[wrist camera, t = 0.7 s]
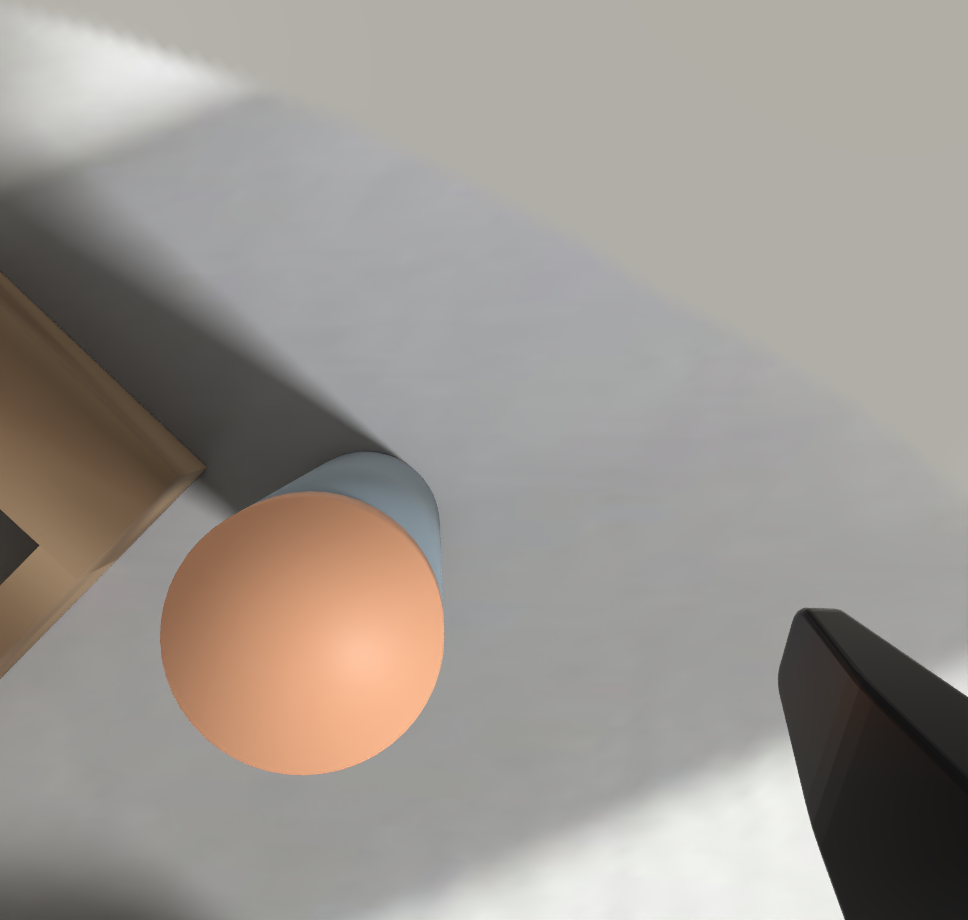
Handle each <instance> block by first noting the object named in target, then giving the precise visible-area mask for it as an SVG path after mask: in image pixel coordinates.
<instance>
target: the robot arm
mask: <svg viewBox="0 0 968 920" xmlns="http://www.w3.org/2000/svg"><path fill="white" fill-rule="evenodd" d="M778 687H779V694H780V698H781V702H782V707H783V711H784V715H785V719H786V723H787V727H788V732H789V736H790V740H791V744H792V748H793V753H794V757H795V761H796V765H797V769H798V774H799V778H800V782H801V786H802V790H803V795H804V799H805V803H806V807H807V811H808V814H809V818H810V822H811V825H812V829H813V832H814V835H815V838H816V841H817V844H818V847H819V850H820V852H821V855H822V858H823V861H824V864H825V866H826V869H827V872H828V875H829V877H830V880H831V883H832V886H833V888H834V891H835V894H836V897H837V900H838V902H839V905H840V908H841V911H842V913H843V916H844V919H845V920H968V697H967V696H966V695H964V694H963V693H961V692H960V691H958V690H957V689H955V688H954V687H952V686H951V685H950V684H948V683H947V682H945V681H944V680H942V679H941V678H939V677H938V676H936V675H935V674H933V673H932V672H931V671H929V670H928V669H926V668H925V667H923V666H922V665H920V664H919V663H917V662H916V661H915V660H913V659H912V658H910V657H909V656H907V655H906V654H904V653H903V652H901V651H900V650H899V649H897V648H896V647H894V646H893V645H891V644H890V643H888V642H887V641H885V640H884V639H882V638H881V637H880V636H878V635H877V634H875V633H874V632H872V631H871V630H869V629H868V628H866V627H865V626H864V625H862V624H861V623H859V622H858V621H856V620H855V619H853V618H852V617H850V616H849V615H847V614H846V613H844V612H843V611H841V610H838V609H828V608H803V609H801V610H799V611H798V612H797V613H796V615H795V616H794V619H793V621H792V625H791V628H790V632H789V635H788V639H787V642H786V646H785V649H784V653H783V657H782V660H781V664H780V667H779V673H778Z"/></svg>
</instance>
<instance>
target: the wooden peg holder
mask: <svg viewBox="0 0 968 920" xmlns="http://www.w3.org/2000/svg"><path fill="white" fill-rule="evenodd" d="M206 468H207V467H206V466H205V465H204V464H203V463H202V462H201V461H200V460H198V459H197V458H196V457H195V456H194V455H193V454H192V453H191V452H190V451H189V450H188V449H187V448H186V447H185V446H184V445H183V444H182V443H181V442H179V441H178V440H177V439H176V438H175V437H174V436H173V435H172V434H171V433H170V432H169V431H168V430H167V429H166V428H165V427H164V426H163V425H162V424H160V423H159V422H158V421H157V420H156V419H155V418H154V417H153V416H152V415H151V414H150V413H149V412H148V411H147V410H146V409H145V408H144V407H143V406H141V405H140V404H139V403H138V402H137V401H136V400H135V399H134V398H133V397H132V396H131V395H130V394H129V393H128V392H127V391H126V390H125V389H124V388H122V387H121V386H120V385H119V384H118V383H117V382H116V381H115V380H114V379H113V378H112V377H111V376H110V375H109V374H108V373H107V372H106V371H105V370H104V369H102V368H101V367H100V366H99V365H98V364H97V363H96V362H95V361H94V360H93V359H92V358H91V357H90V356H89V355H88V354H87V353H86V352H85V351H83V350H82V349H81V348H80V347H79V346H78V345H77V344H76V343H75V342H74V341H73V340H72V339H71V338H70V337H69V336H68V335H67V334H66V333H64V332H63V331H62V330H61V329H60V328H59V327H58V326H57V325H56V324H55V323H54V322H53V321H52V320H51V319H50V318H49V317H48V316H47V315H45V314H44V313H43V312H42V311H41V310H40V309H39V308H38V307H37V306H36V305H35V304H34V303H33V302H32V301H31V300H30V299H29V298H28V297H26V296H25V295H24V294H23V293H22V292H21V291H20V290H19V289H18V288H17V287H16V286H15V285H14V284H13V283H12V282H11V281H10V280H9V279H7V278H6V277H5V276H4V275H3V274H2V273H1V272H0V509H1V510H2V511H3V512H4V513H5V514H6V515H7V516H8V517H9V518H10V519H11V520H12V521H14V522H15V523H16V524H17V525H18V526H19V527H20V528H21V529H22V530H23V531H24V532H26V533H27V534H28V535H29V536H30V537H31V538H32V539H33V540H34V541H35V542H36V543H38V544H39V547H38V548H37V549H36V550H35V551H34V552H33V553H32V554H31V555H30V556H29V557H28V558H27V559H26V560H25V561H24V562H23V563H22V564H21V565H20V566H19V567H18V568H17V569H16V570H15V571H14V572H13V573H12V574H11V575H10V576H9V577H8V578H7V579H6V580H5V581H4V582H3V583H2V584H1V585H0V679H1V677H2V676H3V675H4V674H5V673H6V672H7V671H8V670H9V669H10V668H11V667H12V666H13V665H14V664H15V663H16V662H17V661H18V660H19V659H20V658H21V657H22V656H23V655H24V654H25V653H26V652H27V651H28V650H29V649H30V648H31V647H32V646H33V645H34V644H35V643H36V642H37V641H38V640H39V639H40V638H41V637H42V636H43V635H44V634H45V633H46V632H47V631H48V630H49V628H50V627H51V626H52V625H53V624H54V623H55V622H56V621H57V620H58V619H59V618H60V617H61V616H62V615H63V614H64V613H65V612H66V611H67V610H68V609H69V608H70V607H71V606H72V605H73V604H74V603H75V602H76V601H77V600H78V599H79V598H80V597H81V596H82V595H83V594H84V593H85V592H86V591H87V590H88V589H89V588H90V587H91V586H92V585H93V584H94V583H95V582H96V581H97V580H98V578H99V577H100V576H101V575H102V574H103V573H104V572H105V571H106V570H107V569H108V568H109V567H110V566H111V565H112V564H113V563H114V562H115V561H116V560H117V559H118V558H119V557H120V556H121V555H122V554H123V553H124V552H125V551H126V550H127V549H128V548H129V547H130V546H131V545H132V544H133V543H134V542H135V541H136V540H137V539H138V538H139V537H140V536H141V535H142V534H143V533H144V532H145V531H146V530H147V528H148V527H149V526H150V525H151V524H152V523H153V522H154V521H155V520H156V519H157V518H158V517H159V516H160V515H161V514H162V513H163V512H164V511H165V510H166V509H167V508H168V507H169V506H170V505H171V504H172V503H173V502H174V501H175V500H176V499H177V498H178V497H179V496H180V495H181V494H182V493H183V492H184V491H185V490H186V489H187V488H188V487H189V486H190V485H191V484H192V483H193V482H194V481H195V479H196V478H197V477H198V476H199V475H200V474H201V473H202V472H203V471H204V470H205V469H206Z"/></svg>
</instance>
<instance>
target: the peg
mask: <svg viewBox="0 0 968 920" xmlns="http://www.w3.org/2000/svg"><path fill="white" fill-rule="evenodd" d="M160 644H161V654H162V661H163V665H164V670H165V674H166V678H167V680H168V683H169V685H170V688H171V691H172V693H173V695H174V697H175V699H176V701H177V702H178V704H179V706H180V708H181V710H182V711H183V713H184V714H185V715H186V717H187V718H188V719H189V721H190V722H191V723H192V725H193V726H194V727H195V728H196V729H197V730H198V731H199V732H200V733H201V734H202V735H203V736H204V737H205V738H206V739H207V740H208V741H210V742H211V743H212V744H213V745H215V746H216V747H217V748H218V749H220V750H221V751H223V752H225V753H226V754H228V755H230V756H231V757H233V758H235V759H237V760H239V761H241V762H243V763H246V764H248V765H250V766H253V767H256V768H259V769H263V770H266V771H270V772H276V773H282V774H288V775H313V774H324V773H329V772H333V771H338V770H342V769H345V768H348V767H351V766H353V765H356V764H359V763H361V762H363V761H365V760H367V759H369V758H371V757H373V756H375V755H377V754H378V753H379V752H381V751H382V750H384V749H385V748H387V747H388V746H390V745H391V744H392V743H393V742H394V741H396V740H397V739H398V738H399V737H400V736H401V735H402V734H403V733H405V731H406V730H407V729H408V728H409V727H410V726H411V724H412V723H413V722H414V721H415V720H416V719H417V717H418V716H419V714H420V713H421V711H422V710H423V708H424V706H425V705H426V703H427V701H428V699H429V697H430V695H431V693H432V691H433V689H434V687H435V684H436V680H437V677H438V674H439V671H440V667H441V662H442V656H443V647H444V617H443V593H442V568H441V543H440V521H439V512H438V507H437V504H436V501H435V498H434V496H433V494H432V492H431V490H430V488H429V486H428V485H427V483H426V482H425V480H424V479H423V478H422V477H421V476H420V475H419V474H418V472H416V471H415V470H414V469H413V468H412V467H410V466H409V465H408V464H406V463H404V462H403V461H401V460H399V459H397V458H395V457H393V456H389V455H386V454H383V453H378V452H367V451H363V452H353V453H348V454H344V455H341V456H338V457H336V458H334V459H332V460H330V461H328V462H326V463H324V464H322V465H321V466H319V467H317V468H315V469H314V470H312V471H310V472H308V473H306V474H305V475H303V476H301V477H299V478H298V479H296V480H294V481H292V482H291V483H289V484H287V485H285V486H284V487H282V488H280V489H278V490H277V491H275V492H273V493H271V494H270V495H268V496H266V497H264V498H263V499H261V500H259V501H257V502H256V503H254V504H252V505H250V506H249V507H247V508H245V509H243V510H242V511H240V512H238V513H236V514H235V515H233V516H231V517H229V518H228V519H226V520H225V521H223V522H222V523H220V524H219V525H217V526H216V527H215V528H213V529H212V530H211V531H210V532H209V533H208V534H206V535H205V536H204V537H203V538H202V539H201V540H200V541H199V542H198V543H197V544H196V545H195V547H194V548H193V549H192V550H191V551H190V552H189V554H188V555H187V556H186V558H185V559H184V561H183V562H182V564H181V566H180V567H179V569H178V570H177V572H176V574H175V576H174V579H173V581H172V583H171V585H170V587H169V590H168V593H167V597H166V600H165V603H164V607H163V613H162V619H161V632H160Z"/></svg>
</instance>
